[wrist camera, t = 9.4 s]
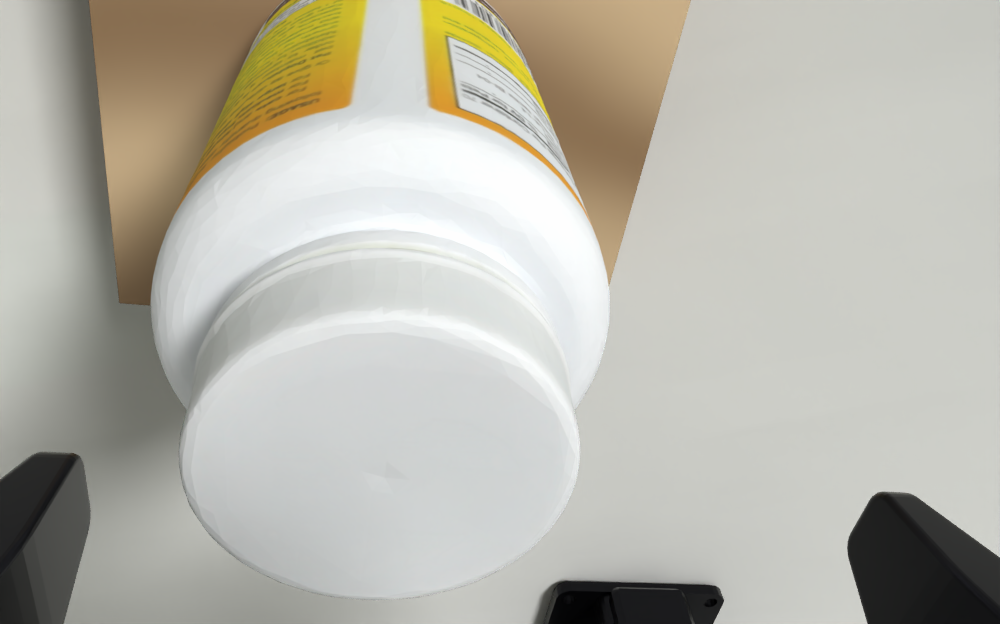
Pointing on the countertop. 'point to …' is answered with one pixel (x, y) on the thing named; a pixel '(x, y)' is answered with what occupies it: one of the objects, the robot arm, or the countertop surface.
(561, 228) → the supplement bottle
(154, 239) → the brown box
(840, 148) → the countertop surface
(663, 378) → the countertop surface
